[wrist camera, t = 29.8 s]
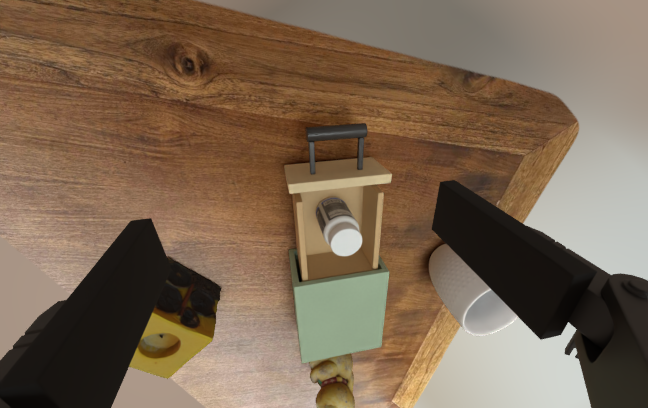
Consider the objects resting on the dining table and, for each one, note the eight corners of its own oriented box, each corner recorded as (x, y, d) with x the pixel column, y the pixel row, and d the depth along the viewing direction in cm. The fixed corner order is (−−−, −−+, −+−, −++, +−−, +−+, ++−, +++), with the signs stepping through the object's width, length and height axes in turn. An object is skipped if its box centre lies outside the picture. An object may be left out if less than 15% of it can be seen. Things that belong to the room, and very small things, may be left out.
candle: (124, 295, 42) (88, 356, 33) (166, 254, 40) (140, 307, 31) (183, 322, 46) (165, 382, 38) (223, 286, 45) (214, 340, 36)
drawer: (279, 122, 34) (283, 134, 28) (374, 115, 36) (396, 126, 30) (293, 256, 44) (298, 287, 38) (367, 246, 46) (382, 273, 40)
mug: (478, 208, 48) (546, 253, 37) (495, 245, 53) (559, 295, 42) (408, 256, 50) (451, 313, 39) (431, 288, 55) (475, 346, 44)
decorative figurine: (297, 349, 56) (308, 437, 42) (325, 324, 54) (346, 408, 41) (330, 363, 60) (349, 447, 47) (357, 341, 58) (385, 421, 45)
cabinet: (288, 249, 44) (293, 287, 36) (368, 237, 46) (389, 271, 39) (296, 320, 52) (301, 363, 44) (364, 307, 54) (381, 346, 46)
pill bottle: (334, 229, 42) (349, 264, 34) (309, 215, 40) (319, 250, 32) (353, 205, 40) (373, 236, 33) (327, 190, 38) (343, 220, 31)
